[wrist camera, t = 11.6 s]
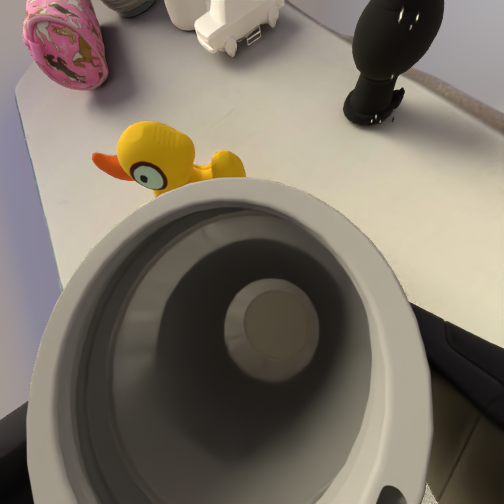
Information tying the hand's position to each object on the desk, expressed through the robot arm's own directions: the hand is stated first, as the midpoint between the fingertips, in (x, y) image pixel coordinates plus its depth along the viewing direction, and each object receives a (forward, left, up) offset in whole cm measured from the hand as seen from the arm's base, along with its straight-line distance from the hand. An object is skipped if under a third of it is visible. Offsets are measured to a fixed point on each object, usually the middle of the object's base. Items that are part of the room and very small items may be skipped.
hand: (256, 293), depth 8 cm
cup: (-1, 0, -7) cm, 7 cm away
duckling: (+13, +4, -11) cm, 18 cm away
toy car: (+37, -8, -11) cm, 40 cm away
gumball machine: (+16, -16, -11) cm, 25 cm away
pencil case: (+51, +17, -11) cm, 55 cm away
